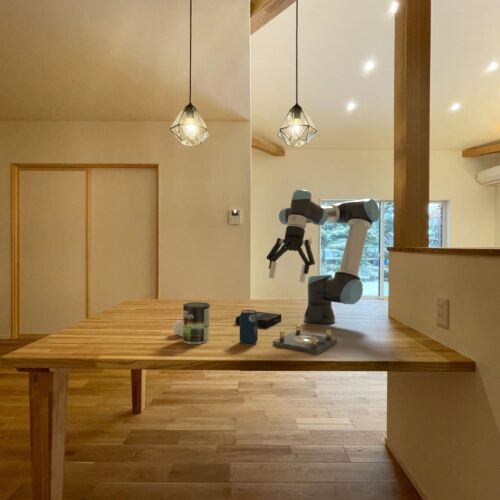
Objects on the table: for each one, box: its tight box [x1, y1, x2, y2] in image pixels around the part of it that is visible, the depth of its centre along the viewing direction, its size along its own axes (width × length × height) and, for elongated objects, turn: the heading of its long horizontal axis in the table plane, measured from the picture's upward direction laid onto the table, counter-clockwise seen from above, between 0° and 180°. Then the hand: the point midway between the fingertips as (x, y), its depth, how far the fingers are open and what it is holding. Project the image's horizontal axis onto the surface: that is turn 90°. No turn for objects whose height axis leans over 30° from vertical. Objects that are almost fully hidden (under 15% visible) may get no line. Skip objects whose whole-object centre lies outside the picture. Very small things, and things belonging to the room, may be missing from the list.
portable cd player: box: [234, 311, 282, 329], centre depth 155 cm, size 16×17×4 cm
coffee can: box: [182, 301, 211, 345], centre depth 124 cm, size 10×10×14 cm
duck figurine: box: [172, 311, 183, 337], centre depth 133 cm, size 12×8×11 cm
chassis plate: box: [272, 324, 338, 355], centre depth 120 cm, size 18×18×5 cm
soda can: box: [239, 309, 259, 346], centre depth 121 cm, size 7×7×12 cm
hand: (286, 280), depth 123 cm, fingers open, 13 cm apart
